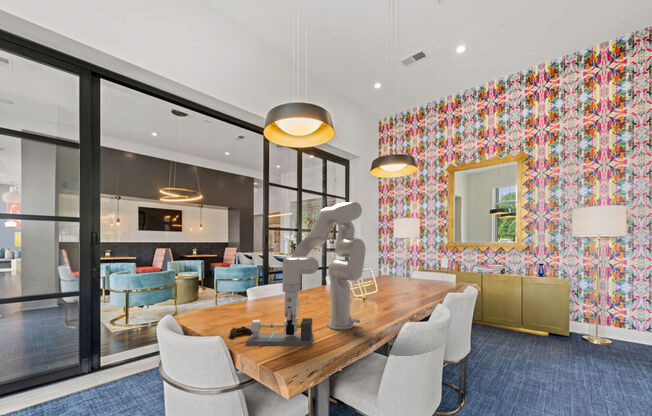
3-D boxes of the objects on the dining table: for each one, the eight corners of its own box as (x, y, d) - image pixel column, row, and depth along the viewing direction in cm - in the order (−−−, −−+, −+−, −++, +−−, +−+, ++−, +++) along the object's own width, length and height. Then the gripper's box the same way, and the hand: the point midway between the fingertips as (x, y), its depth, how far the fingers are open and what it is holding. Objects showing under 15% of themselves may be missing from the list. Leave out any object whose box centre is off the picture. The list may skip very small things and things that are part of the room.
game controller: (231, 338, 120) (229, 325, 124) (228, 344, 122) (225, 332, 126) (254, 333, 126) (250, 321, 129) (250, 340, 128) (247, 328, 132)
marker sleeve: (297, 329, 121) (297, 319, 121) (296, 332, 117) (296, 321, 117) (285, 329, 121) (285, 319, 121) (284, 332, 117) (284, 321, 117)
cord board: (313, 336, 123) (313, 317, 124) (311, 345, 113) (311, 324, 114) (250, 336, 124) (251, 316, 125) (243, 344, 114) (244, 323, 115)
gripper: (298, 291, 112) (297, 340, 110) (302, 284, 129) (302, 326, 127) (278, 291, 113) (278, 339, 111) (285, 284, 129) (285, 326, 127)
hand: (290, 332), depth 119 cm, fingers open, 4 cm apart
